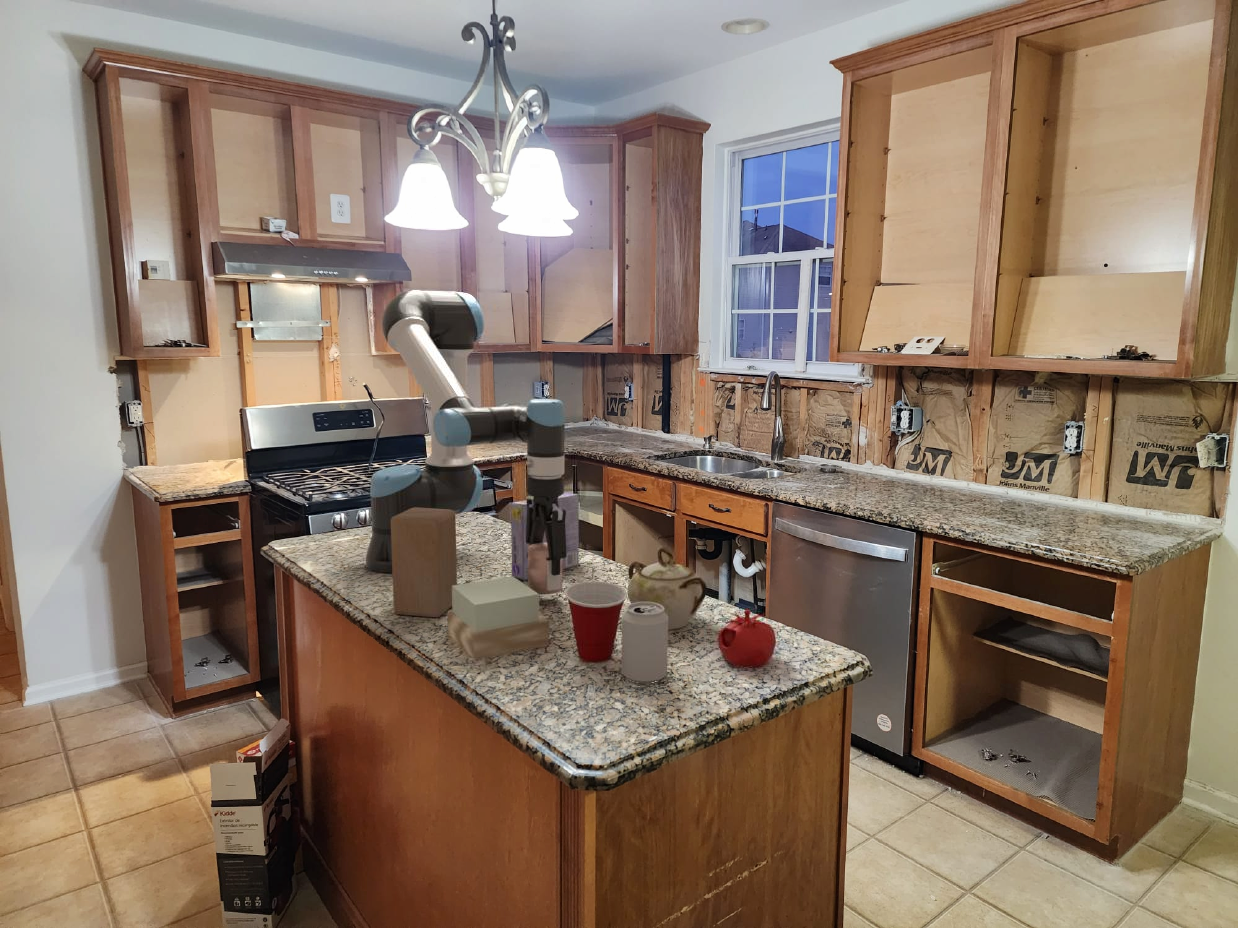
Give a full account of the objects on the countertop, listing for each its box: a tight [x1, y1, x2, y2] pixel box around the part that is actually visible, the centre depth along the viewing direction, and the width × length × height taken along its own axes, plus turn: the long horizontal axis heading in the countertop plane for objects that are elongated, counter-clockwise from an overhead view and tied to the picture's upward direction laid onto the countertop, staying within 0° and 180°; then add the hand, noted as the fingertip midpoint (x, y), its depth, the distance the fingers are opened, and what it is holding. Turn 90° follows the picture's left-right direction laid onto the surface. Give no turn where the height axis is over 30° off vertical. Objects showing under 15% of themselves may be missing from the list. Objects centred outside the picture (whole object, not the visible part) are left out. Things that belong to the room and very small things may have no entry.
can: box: [621, 602, 669, 684], centre depth 131 cm, size 8×8×12 cm
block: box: [391, 507, 458, 618], centre depth 162 cm, size 10×10×20 cm
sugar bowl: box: [626, 547, 708, 631], centre depth 156 cm, size 20×15×15 cm
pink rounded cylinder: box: [527, 543, 563, 595], centre depth 167 cm, size 7×7×9 cm
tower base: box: [447, 609, 550, 661], centre depth 147 cm, size 14×14×5 cm
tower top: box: [451, 575, 540, 633], centre depth 146 cm, size 12×12×5 cm
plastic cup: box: [564, 580, 628, 664], centre depth 139 cm, size 11×11×12 cm
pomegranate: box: [717, 609, 777, 668], centre depth 139 cm, size 10×10×9 cm
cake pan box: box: [510, 492, 580, 582], centre depth 189 cm, size 19×5×18 cm, turn 139°
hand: (545, 583), depth 168 cm, fingers closed on pink rounded cylinder, 7 cm apart
